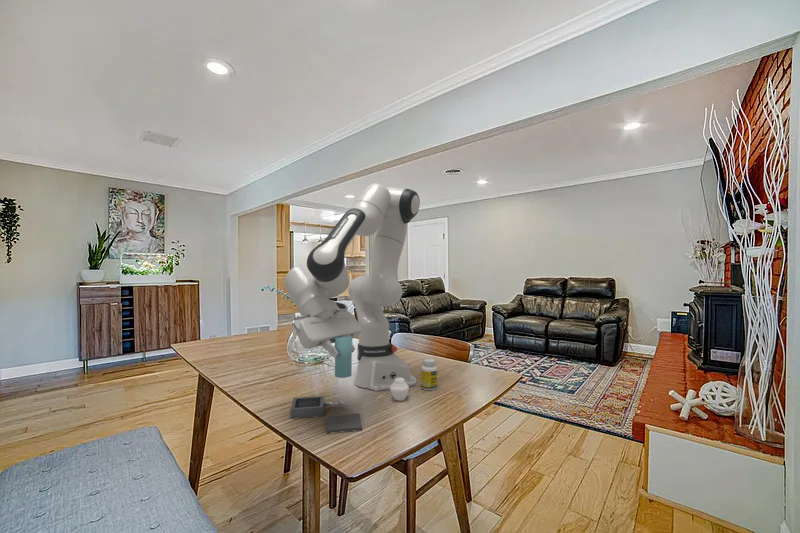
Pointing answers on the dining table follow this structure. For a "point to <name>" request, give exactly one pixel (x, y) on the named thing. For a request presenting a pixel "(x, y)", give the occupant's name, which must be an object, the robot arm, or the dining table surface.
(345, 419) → the rubber mat
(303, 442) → the dining table surface
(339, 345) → the teal peg
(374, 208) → the robot arm
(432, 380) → the supplement bottle
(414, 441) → the dining table surface
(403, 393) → the muffin
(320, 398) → the socket
